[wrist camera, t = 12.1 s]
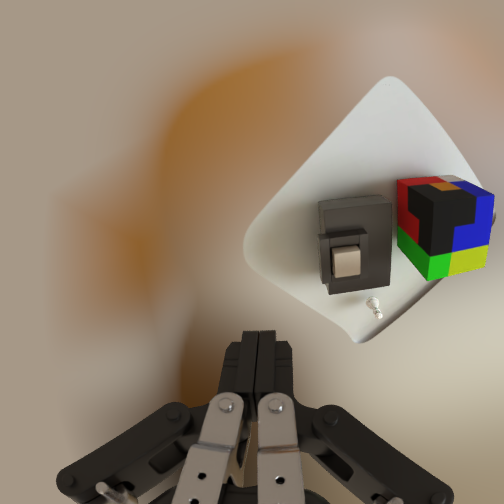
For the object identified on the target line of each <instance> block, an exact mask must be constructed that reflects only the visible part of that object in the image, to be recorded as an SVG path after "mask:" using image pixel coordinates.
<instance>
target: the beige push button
mask: <svg viewBox="0 0 504 504" xmlns="http://www.w3.org/2000/svg"><path fill="white" fill-rule="evenodd" d="M332 267H333V273H334V276H335V278H338V277H345V276H352V275H359V274H360V249H359V248H358V246H357V245H352V246H344V247H337V248H332Z"/></svg>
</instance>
